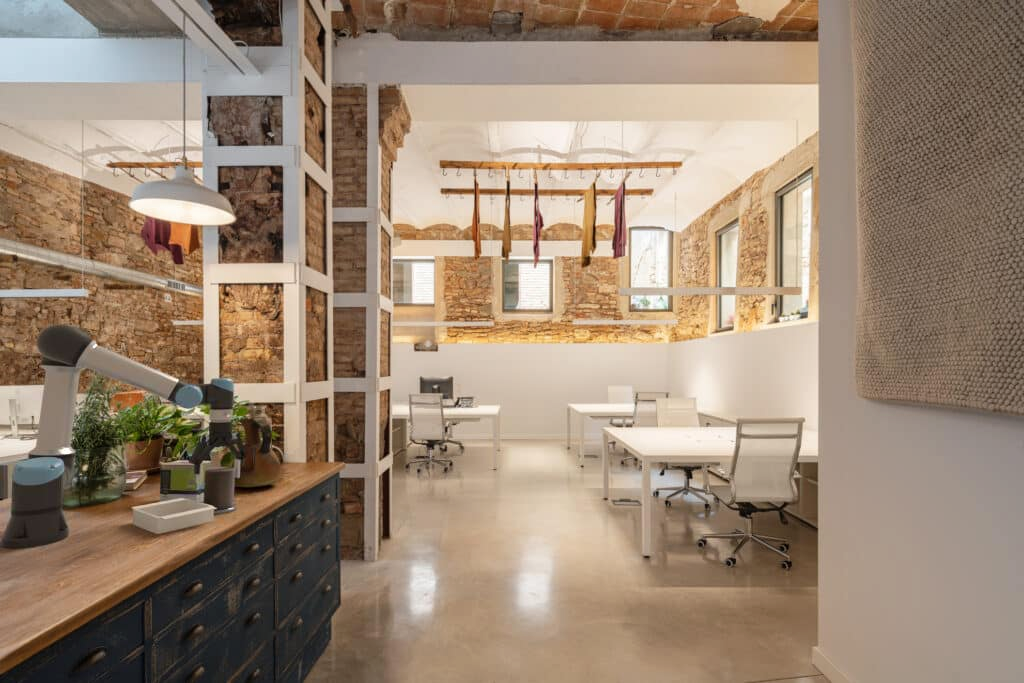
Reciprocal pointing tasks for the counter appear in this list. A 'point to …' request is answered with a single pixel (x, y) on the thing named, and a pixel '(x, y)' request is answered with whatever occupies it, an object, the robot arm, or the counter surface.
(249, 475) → the ceramic pitcher
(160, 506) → the white rectangular tray
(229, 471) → the pillar candle
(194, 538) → the counter surface
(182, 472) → the tea box
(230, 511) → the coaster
